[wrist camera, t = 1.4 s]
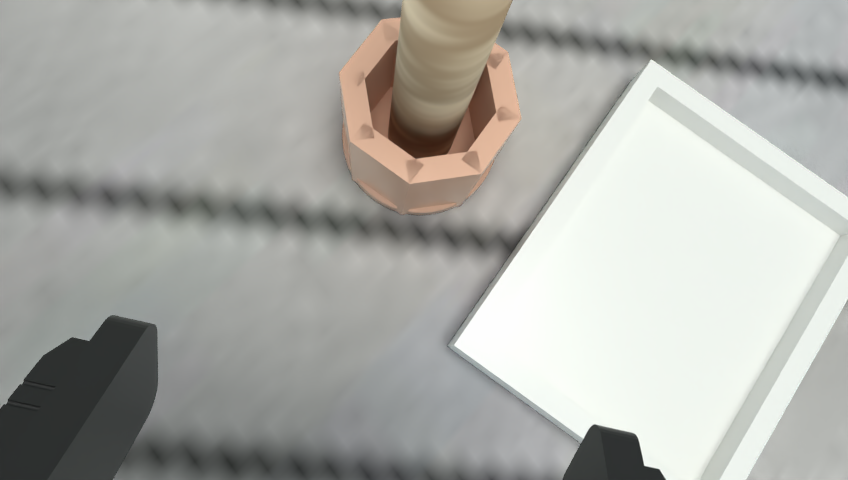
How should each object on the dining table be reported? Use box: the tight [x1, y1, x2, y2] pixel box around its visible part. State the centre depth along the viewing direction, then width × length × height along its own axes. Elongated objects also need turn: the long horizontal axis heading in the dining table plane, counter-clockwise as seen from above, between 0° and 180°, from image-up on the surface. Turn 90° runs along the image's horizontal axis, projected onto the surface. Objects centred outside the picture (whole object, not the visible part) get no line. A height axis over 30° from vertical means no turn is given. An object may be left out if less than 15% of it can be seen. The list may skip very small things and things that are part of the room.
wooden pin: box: [388, 0, 513, 159], centre depth 25 cm, size 3×3×16 cm
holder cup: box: [339, 17, 521, 215], centre depth 31 cm, size 8×8×6 cm
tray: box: [447, 60, 848, 480], centre depth 32 cm, size 14×17×2 cm
